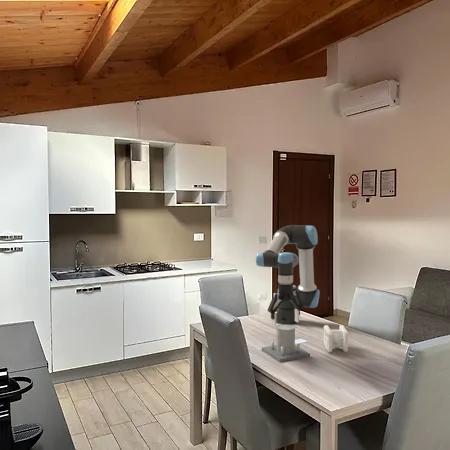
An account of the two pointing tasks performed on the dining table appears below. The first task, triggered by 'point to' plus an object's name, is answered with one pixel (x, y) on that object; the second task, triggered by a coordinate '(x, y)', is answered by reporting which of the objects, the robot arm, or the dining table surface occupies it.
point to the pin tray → (285, 357)
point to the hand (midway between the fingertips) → (285, 323)
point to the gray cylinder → (285, 338)
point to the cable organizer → (335, 338)
